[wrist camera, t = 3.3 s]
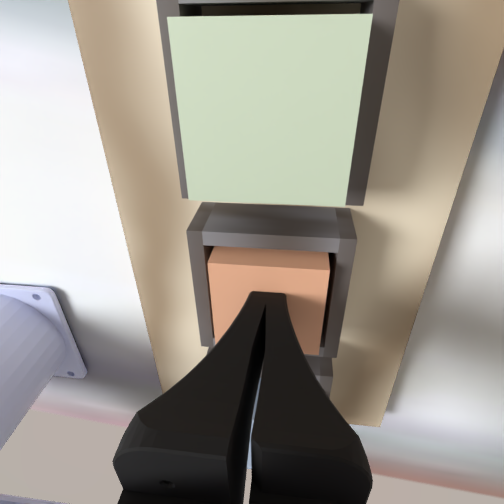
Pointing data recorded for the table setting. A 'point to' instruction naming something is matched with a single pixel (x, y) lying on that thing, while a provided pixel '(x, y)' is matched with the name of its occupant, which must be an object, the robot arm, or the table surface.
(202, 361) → the robot arm
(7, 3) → the table surface
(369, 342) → the keypad base
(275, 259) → the terracotta key
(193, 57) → the sage key
